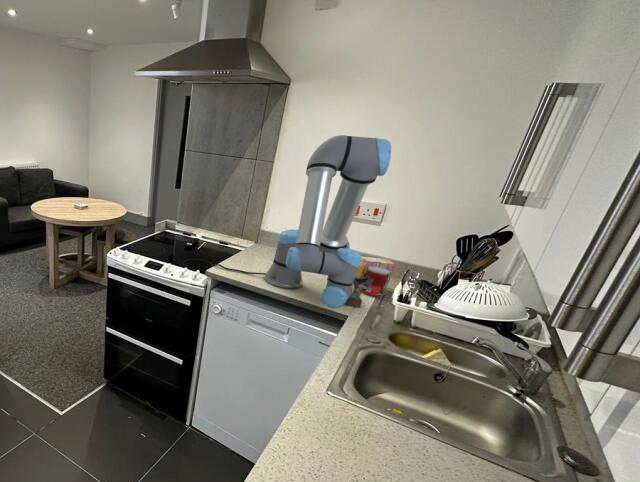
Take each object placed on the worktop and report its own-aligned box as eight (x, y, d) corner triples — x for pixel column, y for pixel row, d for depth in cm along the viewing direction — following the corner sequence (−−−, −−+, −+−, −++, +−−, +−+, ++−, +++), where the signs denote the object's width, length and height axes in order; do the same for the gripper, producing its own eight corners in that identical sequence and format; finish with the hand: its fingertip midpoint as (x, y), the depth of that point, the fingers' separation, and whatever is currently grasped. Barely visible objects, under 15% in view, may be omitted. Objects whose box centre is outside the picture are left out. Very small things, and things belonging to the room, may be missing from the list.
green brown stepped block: (335, 303, 156) (340, 289, 153) (330, 294, 164) (334, 281, 162) (359, 307, 154) (364, 293, 152) (353, 298, 162) (357, 285, 160)
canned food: (382, 298, 165) (392, 274, 160) (361, 294, 167) (370, 270, 163) (379, 292, 171) (387, 268, 167) (358, 288, 174) (367, 265, 169)
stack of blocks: (337, 284, 176) (345, 258, 171) (332, 279, 182) (340, 253, 177) (386, 289, 175) (396, 263, 170) (379, 284, 181) (388, 259, 176)
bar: (345, 288, 155) (352, 264, 151) (342, 284, 159) (350, 261, 155) (356, 290, 155) (364, 266, 151) (353, 286, 158) (360, 263, 154)
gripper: (311, 287, 148) (327, 273, 165) (370, 305, 137) (381, 288, 154) (316, 269, 145) (332, 256, 162) (377, 285, 134) (387, 270, 151)
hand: (355, 271), depth 158 cm, fingers open, 7 cm apart
